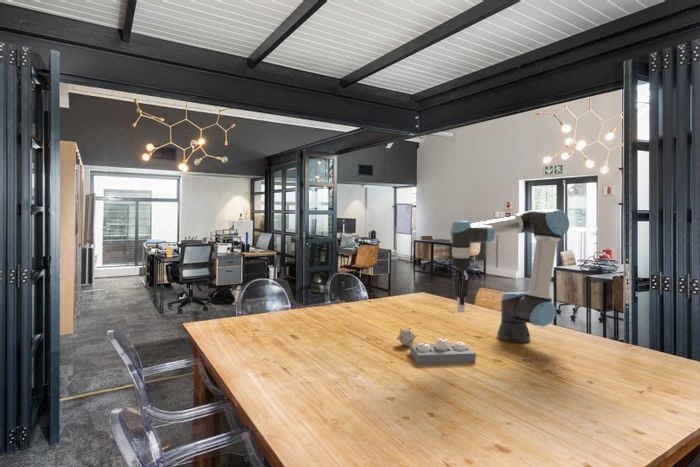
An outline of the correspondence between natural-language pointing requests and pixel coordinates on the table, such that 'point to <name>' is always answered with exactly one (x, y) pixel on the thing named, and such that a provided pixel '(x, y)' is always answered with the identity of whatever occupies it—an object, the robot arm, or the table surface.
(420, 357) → the button board
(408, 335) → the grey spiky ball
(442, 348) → the button
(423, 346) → the button
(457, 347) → the button
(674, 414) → the table surface
